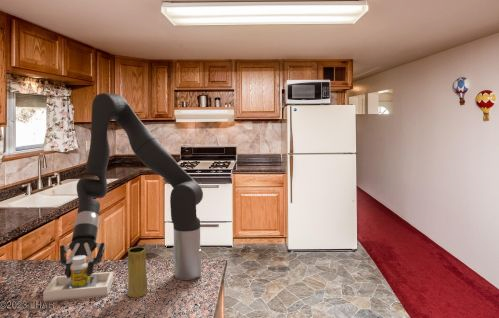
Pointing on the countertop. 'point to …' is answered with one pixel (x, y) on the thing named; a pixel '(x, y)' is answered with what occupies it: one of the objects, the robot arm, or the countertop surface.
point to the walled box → (64, 291)
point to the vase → (137, 272)
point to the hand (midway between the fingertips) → (78, 275)
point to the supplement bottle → (79, 272)
